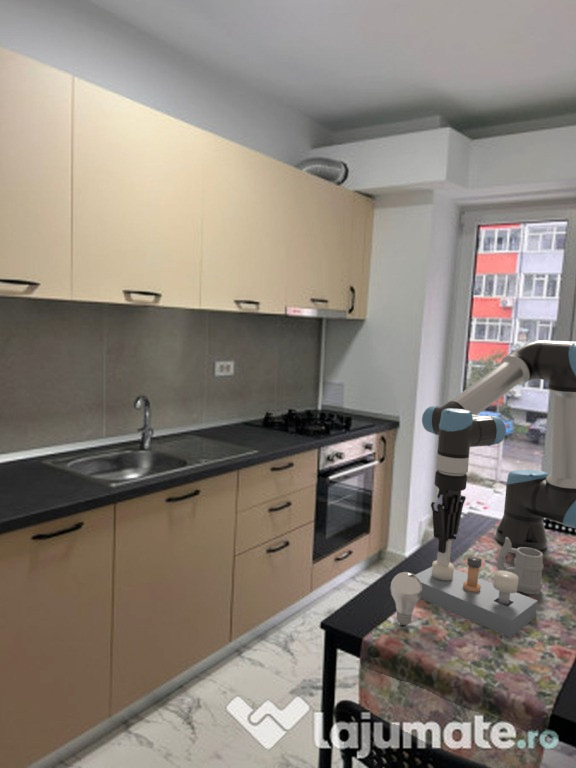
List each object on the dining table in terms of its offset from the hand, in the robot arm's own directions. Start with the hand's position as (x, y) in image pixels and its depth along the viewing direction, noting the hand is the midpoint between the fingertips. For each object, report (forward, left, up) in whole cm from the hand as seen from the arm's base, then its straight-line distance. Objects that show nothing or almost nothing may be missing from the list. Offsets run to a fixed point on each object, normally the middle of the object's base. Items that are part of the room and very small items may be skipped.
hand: (443, 563), depth 142 cm
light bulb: (+21, +3, -8) cm, 23 cm away
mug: (-20, +11, -8) cm, 24 cm away
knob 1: (0, 0, -7) cm, 7 cm away
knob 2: (0, +16, -4) cm, 17 cm away
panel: (0, +8, -8) cm, 11 cm away
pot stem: (0, +8, -4) cm, 9 cm away
